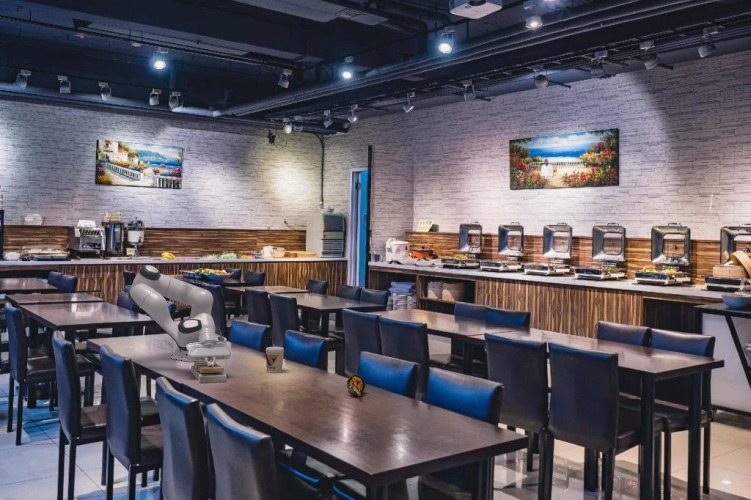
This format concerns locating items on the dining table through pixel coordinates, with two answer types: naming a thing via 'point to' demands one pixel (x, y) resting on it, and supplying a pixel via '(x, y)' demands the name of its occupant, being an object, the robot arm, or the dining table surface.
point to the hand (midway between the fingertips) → (210, 366)
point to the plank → (210, 369)
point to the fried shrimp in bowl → (356, 385)
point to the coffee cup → (274, 359)
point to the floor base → (207, 374)
